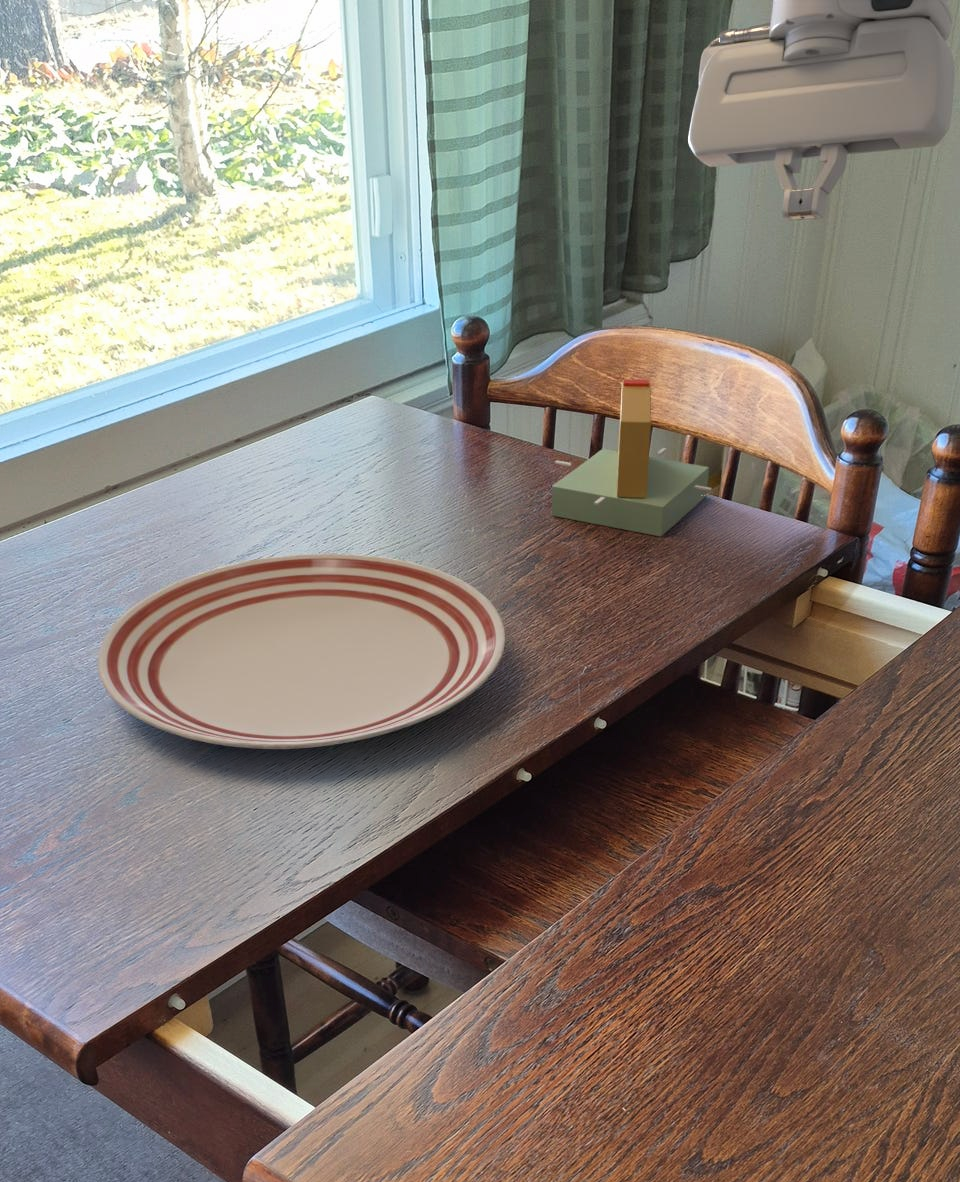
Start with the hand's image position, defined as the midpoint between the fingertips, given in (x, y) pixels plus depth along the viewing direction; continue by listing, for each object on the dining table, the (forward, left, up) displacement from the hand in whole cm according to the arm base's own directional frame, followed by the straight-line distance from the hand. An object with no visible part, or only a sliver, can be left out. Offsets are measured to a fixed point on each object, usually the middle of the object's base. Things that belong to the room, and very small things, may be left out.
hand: (802, 217), depth 112 cm
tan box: (+9, +11, -18) cm, 23 cm away
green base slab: (+9, +11, -21) cm, 25 cm away
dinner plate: (+16, +50, -21) cm, 56 cm away
